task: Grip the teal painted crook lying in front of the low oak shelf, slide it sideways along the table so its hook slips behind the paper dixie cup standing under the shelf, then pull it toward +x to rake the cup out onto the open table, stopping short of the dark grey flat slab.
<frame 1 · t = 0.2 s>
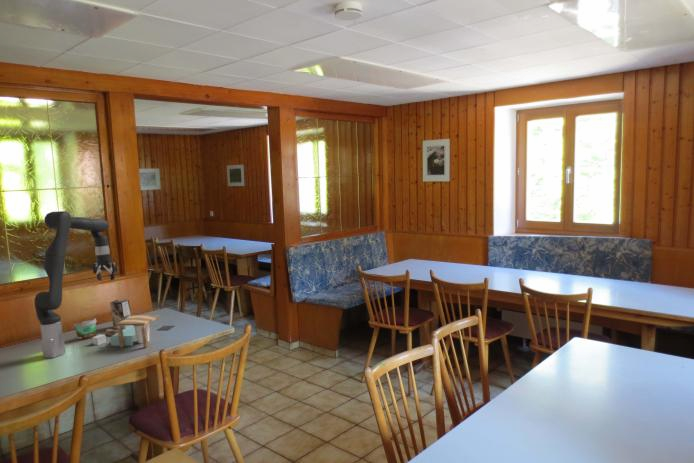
hand: (106, 280, 295), 29 cm above the table, tool pointing down, fingers open, 8 cm apart
dark grey flat slab: (166, 328, 288), on the table
crook: (126, 338, 274), on the table
food container: (89, 338, 280), on the table
dixie cup: (143, 341, 267), on the table
coffee box: (123, 327, 297), on the table
cubby: (141, 342, 265), on the table
grey block: (99, 343, 269), on the table
walnut stick: (115, 335, 282), on the table
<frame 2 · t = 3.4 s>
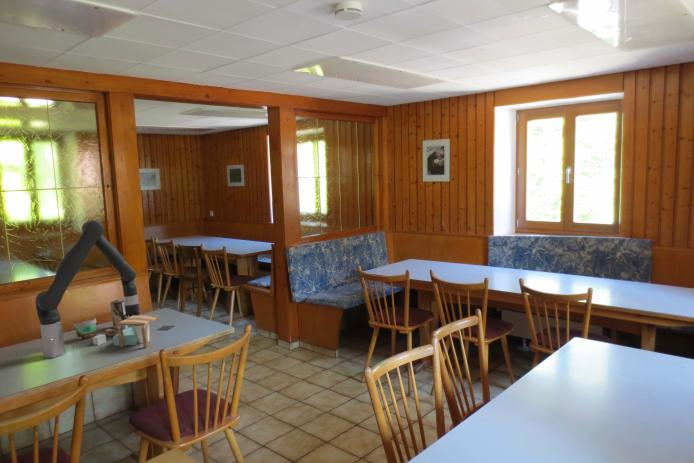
hand: (134, 331, 283), 1 cm above the table, tool pointing down, fingers open, 4 cm apart
crook: (126, 338, 274), on the table, touching gripper
everything else where it was.
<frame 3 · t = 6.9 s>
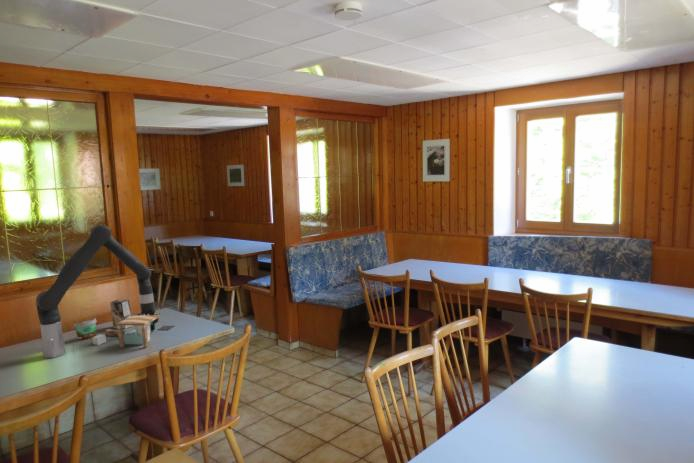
hand: (150, 330, 283), 1 cm above the table, tool pointing down, fingers closed on crook, 3 cm apart
crook: (140, 337, 275), on the table, touching dixie cup, gripper
dixie cup: (144, 341, 268), on the table, touching crook
everything else where it was.
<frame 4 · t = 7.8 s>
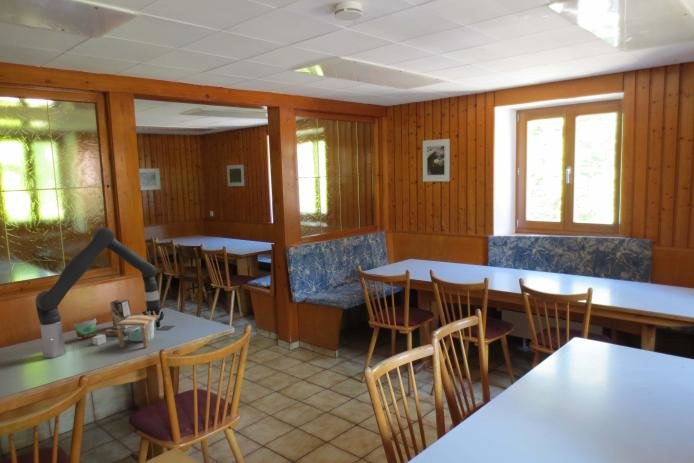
hand: (155, 327, 289), 1 cm above the table, tool pointing down, fingers closed on crook, 3 cm apart
crook: (145, 333, 280), on the table, touching dixie cup, gripper
dixie cup: (148, 338, 272), on the table, touching crook
everything else where it was.
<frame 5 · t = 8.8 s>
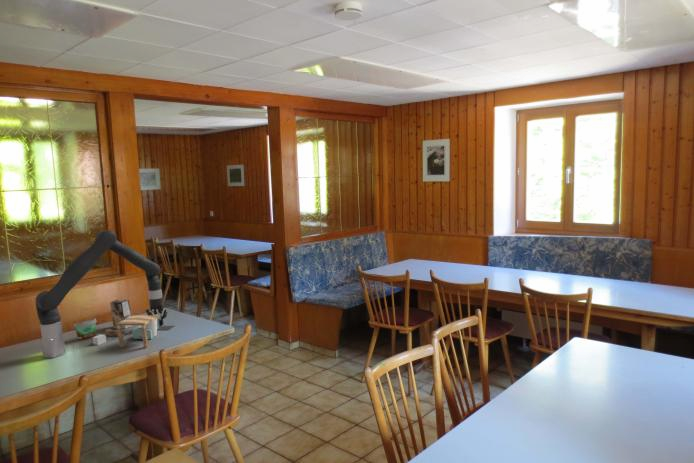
hand: (158, 325, 292), 1 cm above the table, tool pointing down, fingers closed on crook, 3 cm apart
crook: (148, 331, 283), on the table, touching dixie cup, gripper
dixie cup: (151, 336, 276), on the table, touching crook
everything else where it was.
when the fingers open (1 cm above the table, at t = 10.0 s): crook stays where it is, on the table.
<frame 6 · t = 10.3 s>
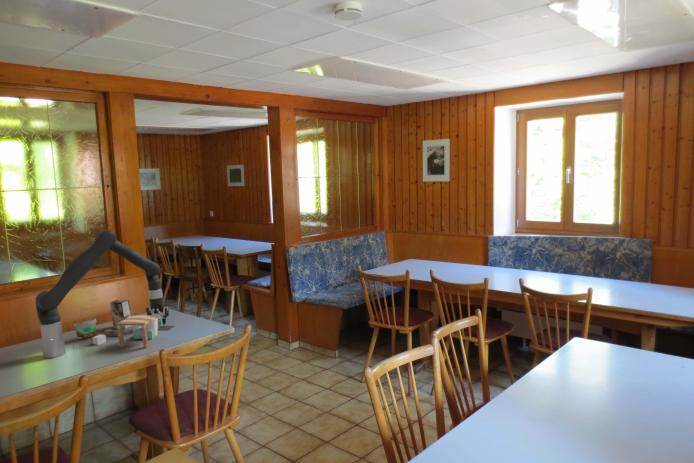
hand: (159, 324, 293), 1 cm above the table, tool pointing down, fingers open, 6 cm apart
crook: (148, 332, 283), on the table
dixie cup: (152, 336, 276), on the table
everything else where it was.
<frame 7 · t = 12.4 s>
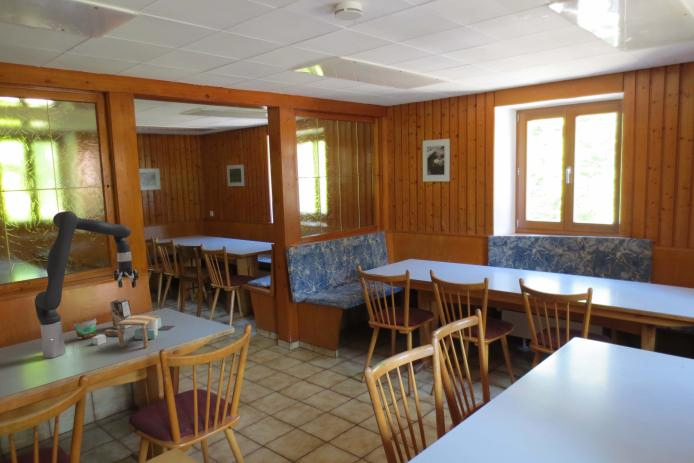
hand: (127, 287, 287), 25 cm above the table, tool pointing down, fingers open, 8 cm apart
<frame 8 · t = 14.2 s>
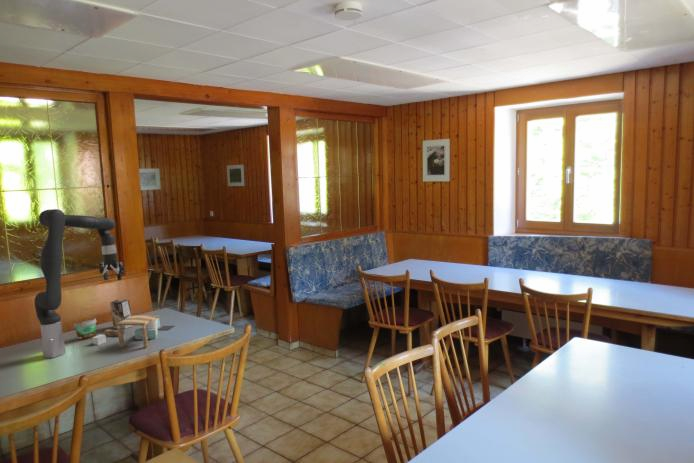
hand: (113, 280, 287), 30 cm above the table, tool pointing down, fingers open, 8 cm apart
nothing on the table moved.
at the end: dixie cup inside the target area (2.7 cm from its centre), on the table; dixie cup tilted 0°; dixie cup touching crook, table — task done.
